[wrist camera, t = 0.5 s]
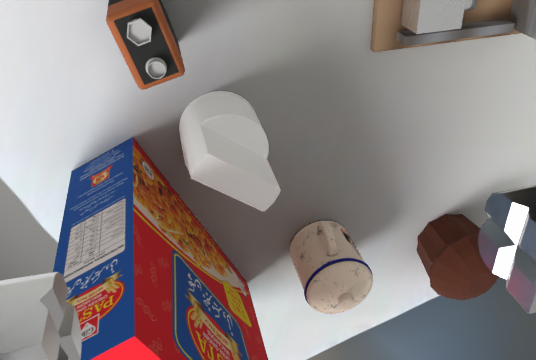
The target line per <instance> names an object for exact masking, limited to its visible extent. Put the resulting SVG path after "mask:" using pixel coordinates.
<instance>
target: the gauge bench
mask: <svg viewBox="0 0 536 360" xmlns="http://www.w3.org/2000/svg"><path fill="white" fill-rule="evenodd" d="M402 9H403V0H374V12H373V26H372V40H371V50H373V51H374V52H378V51H386V50H394V49H402V48H409V47H417V46H425V45H433V44H440V43H448V42H456V41H464V40H471V39H479V38H487V37H495V36H502V35H510V34H518V33H523V34H525V35H527V36H530V37H532V38H534V39H536V0H478V2H477V6H476V8H475V9H473V10H465V11H464V14H463V20H462V26H461V29H454V30H446V31H438V32H430V33H422V34H416V33H414V32H412V31H411V30H409V29H408V28H406V27H404V26H403V25H401V19H402Z"/></svg>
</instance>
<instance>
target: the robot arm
mask: <svg viewBox="0 0 536 360" xmlns="http://www.w3.org/2000/svg"><path fill="white" fill-rule="evenodd" d="M485 212H486V213H487V215H488V217H489V219H488V220H487V221H486V222H485V223H484V224H483V225H482V227H481V228H480V231H479V237H478V246H479V252H480V255H481V257H482V259H483V261H484V263H485V265H486V266H487V267H488V268H489V269H490V270H491V272H492V273H494V274H496V275H498V276H500V277H503V278H505V279H506V280H507V281H506V284H507V286H506V287H507V288H506V289H507V290H508V291H509V292H510V293H511V295H513V297H514V298H515V299H516V300H517V301H518V302H519V303H520V305H521V306H522V307H523V308H524V309H525V310H526V311H527V313H528V314H530V313H535V312H536V185H534V186H529V187H523V188H518V189H513V190H507V191H502V192H497V193H492V195H491V196H490V197H489V199H488V200H487V203H486V207H485ZM67 290H68V287H67V285H66V282H65V280H64V278H63V275H62V274H61V273H59V272H53V273H46V274H41V275H34V276H27V277H21V278H15V279H9V280H2V281H0V360H81V347H82V342H81V328H80V323H79V319H78V315H77V312H76V309H75V306H73V305H71V304H70V303H68V302H66V297H67Z"/></svg>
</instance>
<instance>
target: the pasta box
mask: <svg viewBox="0 0 536 360" xmlns="http://www.w3.org/2000/svg"><path fill="white" fill-rule="evenodd" d="M53 272H59V273H61V274H62V275H63V278H64V280H65V282H66V285H67V287H68V290H67V297H66V302H68V303H70V304H71V305H73V306H75V309H76V312H77V315H78V319H79V323H80V328H81V342H82V347H81V360H268V358H267V354H266V350H265V347H264V343H263V339H262V336H261V332H260V328H259V325H258V321H257V317H256V314H255V310H254V307H253V303H252V299H251V296H250V292H249V288H248V285H247V282H246V281H245V280H244V278H243V277H242V276H241V275H240V273H239V272H238V271H237V269H236V268H235V267H234V266H233V264H232V263H231V262H230V260H229V259H228V258H227V257H226V255H225V254H224V253H223V252H222V250H221V249H220V248H219V246H218V245H217V244H216V243H215V241H214V240H213V239H212V238H211V236H210V235H209V234H208V232H207V231H206V230H205V229H204V227H203V226H202V225H201V224H200V222H199V221H198V220H197V218H196V217H195V216H194V215H193V213H192V212H191V211H190V209H189V208H188V207H187V206H186V204H185V203H184V202H183V201H182V199H181V198H180V197H179V195H178V194H177V193H176V192H175V190H174V189H173V188H172V187H171V185H170V184H169V183H168V181H167V180H166V179H165V178H164V176H163V175H162V174H161V172H160V171H159V170H158V169H157V167H156V166H155V165H154V164H153V162H152V161H151V160H150V158H149V157H148V156H147V155H146V153H145V152H144V151H143V150H142V148H141V147H140V146H139V144H138V143H137V142H136V141H135V139H134V138H133V137H132V138H130V139H128V140H127V141H125V142H123V143H121V144H120V145H118V146H116V147H114V148H113V149H111V150H109V151H107V152H106V153H104V154H102V155H100V156H99V157H97V158H95V159H93V160H91V161H90V162H88V163H86V164H84V165H83V166H81V167H79V168H77V169H76V170H74V171H72V172H71V178H70V183H69V189H68V194H67V200H66V205H65V210H64V216H63V221H62V227H61V232H60V238H59V243H58V248H57V254H56V259H55V265H54V270H53Z"/></svg>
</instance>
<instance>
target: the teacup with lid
mask: <svg viewBox="0 0 536 360" xmlns="http://www.w3.org/2000/svg"><path fill="white" fill-rule="evenodd" d="M290 256H291V259H292V261H293V264H294V266H295V269H296V271H297V274H298V276H299V279H300V281H301V284H302V286H303V289H304V295H305V299H306V301H307V302H308V304H309V305H310V306H311V307H312V308H314V309H315V310H317V311H319V312H322V313H327V314H334V313H340V312H344V311H347V310H349V309H351V308H353V307H355V306H356V305H358V304H359V303H360V302H362V301H363V300H364V299H365V297H366V296H367V295H368V293H369V292H370V290H371V287H372V282H373V277H372V272H371V269H370V268H369V266H368V265H367V264H366V263H364V261H363V259H362V257H361V256H360V254H359V252H358V250H357V249H356V247H355V245H354V244H353V242H352V240H351V238H350V237H349V235H348V233H347V231H346V230H345V228H344V227H343V226H341V225H340V224H338V223H336V222H333V221H317V222H314V223H311V224H309V225H307V226H305V227H304V228H302V229H301V230H300V231H299V232H298V233H297V234H296V235H295V236H294V238H293V240H292V242H291V245H290Z"/></svg>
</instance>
